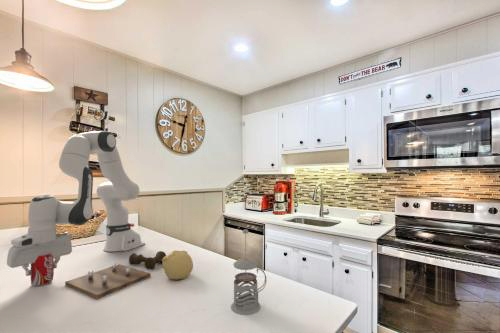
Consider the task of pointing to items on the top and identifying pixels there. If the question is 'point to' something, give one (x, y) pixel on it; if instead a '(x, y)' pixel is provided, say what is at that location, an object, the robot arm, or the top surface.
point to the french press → (246, 301)
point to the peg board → (107, 280)
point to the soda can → (42, 270)
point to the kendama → (147, 259)
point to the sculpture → (177, 265)
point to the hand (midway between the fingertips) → (41, 271)
